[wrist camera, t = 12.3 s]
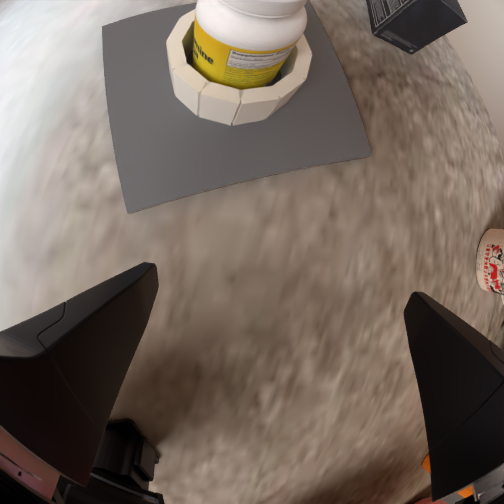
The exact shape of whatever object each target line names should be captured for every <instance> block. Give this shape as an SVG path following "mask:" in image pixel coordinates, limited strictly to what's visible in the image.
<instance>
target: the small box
mask: <svg viewBox="0 0 504 504" xmlns="http://www.w3.org/2000/svg"><path fill="white" fill-rule="evenodd" d="M366 1H367V6H368V11H369V16H370V22H371V27H372V33H373V34H374V35H375V36H377V37H380V38H382V39H384V40H386V41H388V42H390V43H392V44H393V45H395V46H397V47H399V48H401V49H402V50H404V51H406V52H408V53H410V54H413V53H415V52H416V51H418V50H420V49H421V48H423V47H425V46H426V45H428V44H430V43H431V42H433V41H435V40H436V39H438V38H440V37H441V36H443V35H445V34H447V33H448V32H450V31H452V30H454V29H456V28H457V27H459V26H461V25H463V24H465V23H467V20H466V18H465V15H464V13H463V11H462V9H461V7H460V5H459V3H458V1H457V0H366Z"/></svg>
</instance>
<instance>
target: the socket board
mask: <svg viewBox="0 0 504 504" xmlns="http://www.w3.org/2000/svg"><path fill="white" fill-rule="evenodd" d="M196 5H197V3H192V4H186V5H180V6H175V7H170V8H165V9H160V10H156V11H152V12H148V13H144V14H140V15H136V16H133V17H130V18H126V19H123V20H120V21H117V22H114V23H111V24H108V25H105V26H102V39H103V62H104V76H105V87H106V97H107V105H108V113H109V121H110V128H111V134H112V140H113V146H114V152H115V158H116V163H117V168H118V173H119V178H120V183H121V187H122V192H123V196H124V200H125V205H126V209H127V213H130V214H131V213H134V212H137V211H140V210H144V209H147V208H150V207H153V206H157V205H160V204H163V203H166V202H170V201H173V200H177V199H180V198H184V197H187V196H191V195H194V194H198V193H202V192H205V191H209V190H213V189H217V188H221V187H225V186H228V185H232V184H237V183H241V182H245V181H249V180H253V179H258V178H262V177H266V176H271V175H275V174H280V173H285V172H289V171H294V170H299V169H304V168H309V167H315V166H320V165H325V164H331V163H336V162H342V161H348V160H354V159H361V158H367V157H370V156H372V152H371V149H370V145H369V142H368V139H367V135H366V132H365V129H364V126H363V123H362V120H361V117H360V114H359V111H358V108H357V105H356V102H355V99H354V97H353V94H352V91H351V89H350V86H349V84H348V81H347V78H346V76H345V74H344V71H343V69H342V66H341V64H340V62H339V59H338V57H337V55H336V53H335V50H334V48H333V46H332V44H331V42H330V40H329V38H328V35H327V33H326V31H325V29H324V27H323V25H322V23H321V22H320V20H319V18H318V16H317V14H316V12H315V10H314V8H313V7H312V5H311V3H310V1H309V0H307V2H306V4H305V5H304V7H305V9H306V13H307V24H306V28H305V30H304V32H303V34H302V36H301V37H300V39H299V40H298V42H297V43H296V45H295V46H294V48H293V49H292V51H291V53H290V54H289V56H288V57H287V59H286V60H285V62H284V63H283V65H282V67H281V68H280V70H279V71H278V73H277V74H276V76H275V77H274V79H273V81H272V82H271V83H270V85H269V86H268V87H260V88H252V89H245V90H239V89H235V88H232V87H228V86H224V85H220V84H217V83H213V82H209V81H207V80H206V79H205V78H204V77H203V76H202V75H200V74H199V73H198V72H197V71H196V70H195V69H193V46H194V25H195V9H196Z"/></svg>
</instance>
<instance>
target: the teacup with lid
mask: <svg viewBox="0 0 504 504" xmlns="http://www.w3.org/2000/svg"><path fill="white" fill-rule="evenodd" d="M476 275H477V280H478V283H479V285H480V287H481V288H482V289H483V290H485V291H489V292H492V293H496V294H500V295H501V298H502V302H503V304H504V229H489V230H487V231H486V232H485V233H484V235H483V237H482V239H481V241H480V244H479V247H478V252H477V258H476Z"/></svg>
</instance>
